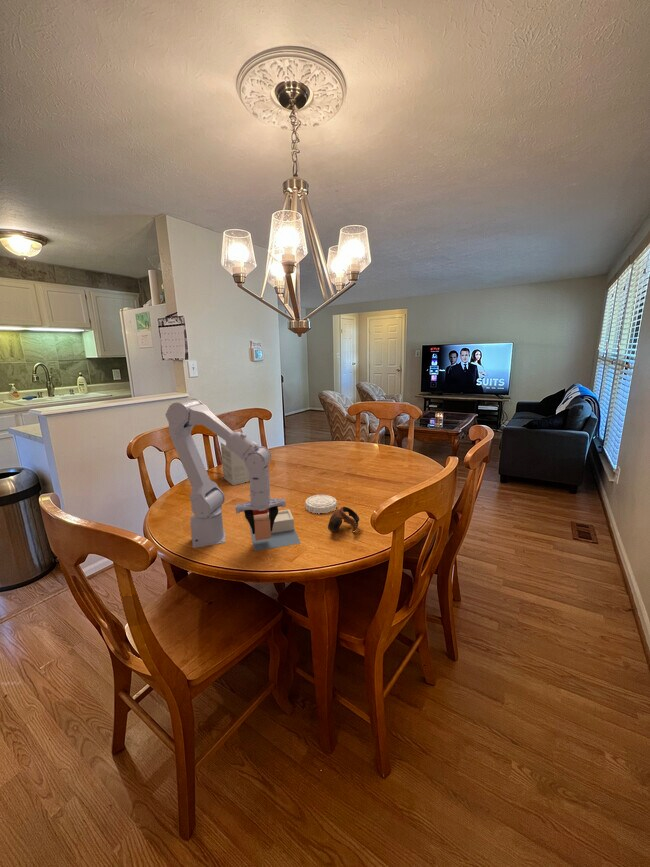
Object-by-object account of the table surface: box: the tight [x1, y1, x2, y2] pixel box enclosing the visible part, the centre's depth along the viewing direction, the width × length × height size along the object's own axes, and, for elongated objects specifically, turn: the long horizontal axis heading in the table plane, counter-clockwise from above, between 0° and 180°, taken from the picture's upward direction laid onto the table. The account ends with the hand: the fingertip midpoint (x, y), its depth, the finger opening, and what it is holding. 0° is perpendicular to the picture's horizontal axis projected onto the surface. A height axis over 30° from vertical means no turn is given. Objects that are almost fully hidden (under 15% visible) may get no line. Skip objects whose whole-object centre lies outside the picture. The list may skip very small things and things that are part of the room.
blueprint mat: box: [249, 525, 301, 552], centre depth 109 cm, size 14×17×1 cm
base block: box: [268, 509, 295, 533], centre depth 113 cm, size 8×8×4 cm
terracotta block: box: [254, 513, 271, 541], centre depth 102 cm, size 4×4×6 cm
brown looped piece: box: [327, 506, 360, 533], centre depth 110 cm, size 12×10×8 cm
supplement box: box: [220, 440, 258, 486], centre depth 157 cm, size 13×13×18 cm
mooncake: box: [304, 494, 338, 515], centre depth 127 cm, size 12×12×4 cm
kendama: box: [253, 508, 269, 515], centre depth 124 cm, size 8×6×18 cm
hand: (262, 531), depth 102 cm, fingers closed on terracotta block, 4 cm apart
